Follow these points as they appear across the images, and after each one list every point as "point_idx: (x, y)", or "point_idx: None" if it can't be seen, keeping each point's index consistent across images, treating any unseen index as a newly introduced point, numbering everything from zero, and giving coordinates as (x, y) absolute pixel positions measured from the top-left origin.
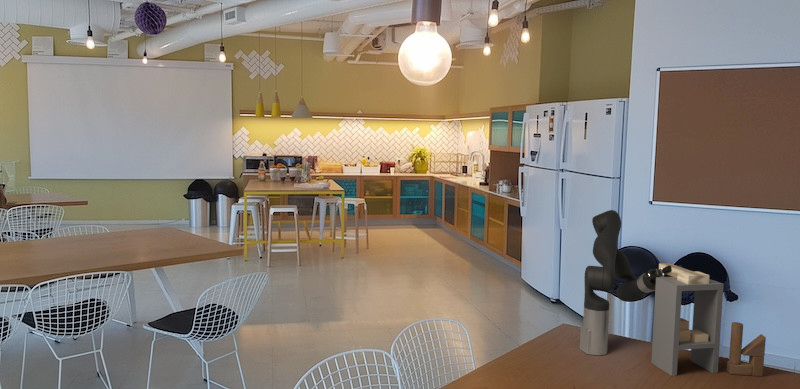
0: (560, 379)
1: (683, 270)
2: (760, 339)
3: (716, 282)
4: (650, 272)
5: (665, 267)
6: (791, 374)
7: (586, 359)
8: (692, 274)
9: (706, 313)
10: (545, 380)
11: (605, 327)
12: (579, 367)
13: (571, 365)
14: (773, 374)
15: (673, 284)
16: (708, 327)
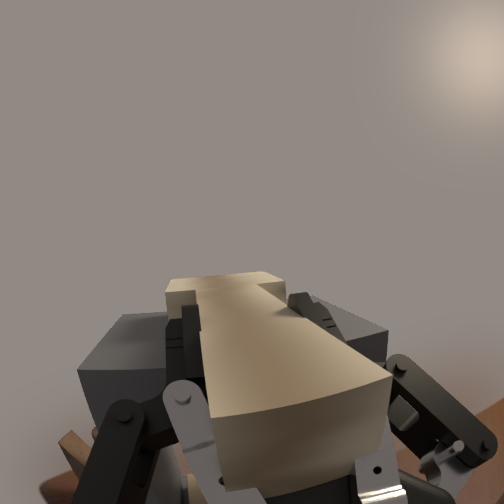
0: (488, 416)
1: (236, 291)
2: (77, 441)
3: (128, 320)
4: (449, 409)
5: (330, 314)
6: (46, 482)
7: (488, 501)
8: (235, 276)
9: (163, 451)
10: (500, 405)
11: (497, 501)
12: (486, 462)
13: (500, 461)
14: (74, 492)
15: (320, 300)
16: (174, 472)
